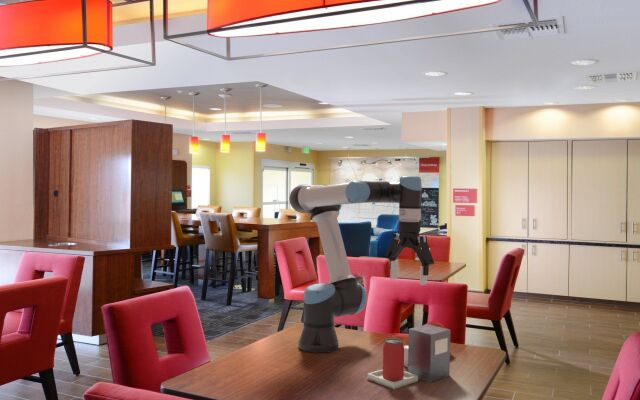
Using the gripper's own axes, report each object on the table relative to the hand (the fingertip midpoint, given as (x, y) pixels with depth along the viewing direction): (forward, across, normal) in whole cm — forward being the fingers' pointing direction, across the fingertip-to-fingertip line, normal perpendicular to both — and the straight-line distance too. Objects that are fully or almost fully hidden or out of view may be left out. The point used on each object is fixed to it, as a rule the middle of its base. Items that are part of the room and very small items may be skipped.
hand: (408, 282), depth 195 cm
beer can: (+28, +10, -17) cm, 34 cm away
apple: (+28, -3, +19) cm, 34 cm away
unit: (+28, +14, -4) cm, 31 cm away
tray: (+28, +10, -17) cm, 34 cm away
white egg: (+28, +2, -1) cm, 28 cm away
